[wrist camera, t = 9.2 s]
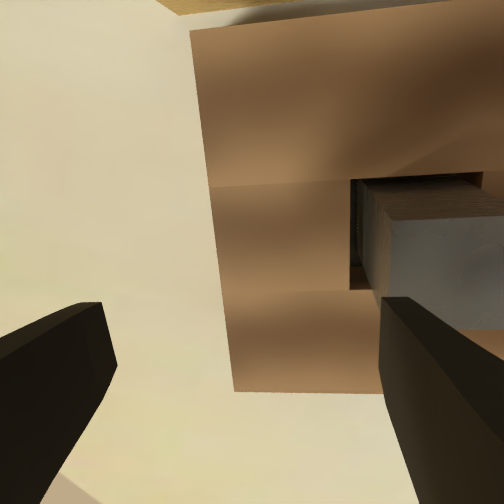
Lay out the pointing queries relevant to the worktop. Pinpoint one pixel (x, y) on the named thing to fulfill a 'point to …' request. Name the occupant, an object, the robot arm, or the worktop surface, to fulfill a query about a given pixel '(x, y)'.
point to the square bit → (434, 246)
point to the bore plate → (334, 169)
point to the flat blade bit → (213, 5)
